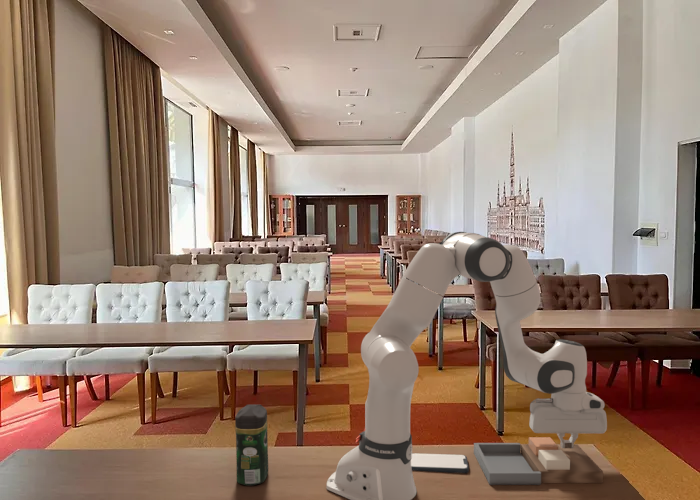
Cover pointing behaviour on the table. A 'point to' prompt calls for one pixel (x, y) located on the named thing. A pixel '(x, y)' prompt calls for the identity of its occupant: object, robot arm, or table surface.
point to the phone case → (439, 463)
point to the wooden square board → (579, 471)
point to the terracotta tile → (541, 444)
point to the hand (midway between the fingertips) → (566, 447)
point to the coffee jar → (251, 445)
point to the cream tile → (554, 460)
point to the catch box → (505, 464)
